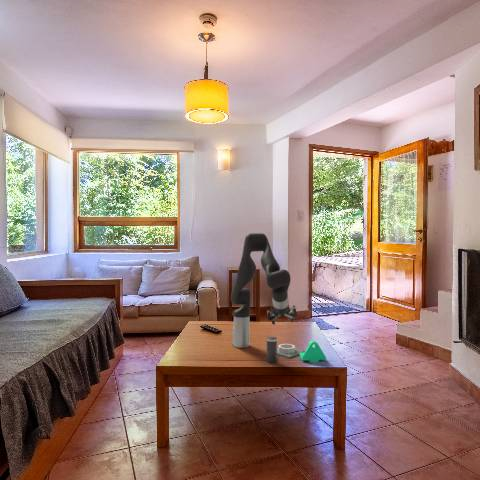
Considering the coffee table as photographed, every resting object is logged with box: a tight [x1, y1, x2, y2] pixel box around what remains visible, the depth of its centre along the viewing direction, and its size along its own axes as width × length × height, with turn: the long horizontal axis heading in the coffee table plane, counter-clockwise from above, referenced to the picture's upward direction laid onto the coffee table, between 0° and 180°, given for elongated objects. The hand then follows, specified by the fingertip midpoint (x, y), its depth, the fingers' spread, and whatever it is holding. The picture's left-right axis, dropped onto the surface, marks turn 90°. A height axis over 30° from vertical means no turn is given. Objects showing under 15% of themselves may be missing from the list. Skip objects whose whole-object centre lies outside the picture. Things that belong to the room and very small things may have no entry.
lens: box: [266, 336, 278, 364], centre depth 192 cm, size 5×5×12 cm
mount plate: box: [277, 343, 306, 359], centre depth 206 cm, size 14×14×4 cm
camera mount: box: [299, 339, 327, 363], centre depth 195 cm, size 12×8×10 cm, turn 95°
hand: (282, 322), depth 187 cm, fingers open, 8 cm apart
